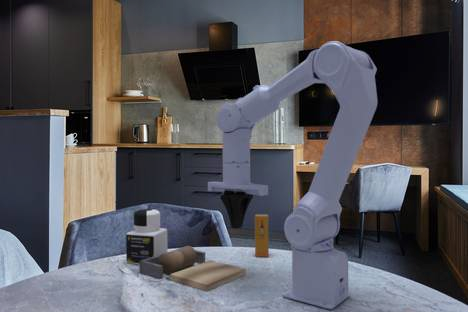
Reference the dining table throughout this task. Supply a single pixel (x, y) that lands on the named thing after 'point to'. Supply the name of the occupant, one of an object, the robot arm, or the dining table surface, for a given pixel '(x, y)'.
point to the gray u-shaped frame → (156, 270)
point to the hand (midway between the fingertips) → (236, 227)
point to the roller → (177, 259)
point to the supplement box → (261, 236)
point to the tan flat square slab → (207, 275)
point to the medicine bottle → (146, 237)
